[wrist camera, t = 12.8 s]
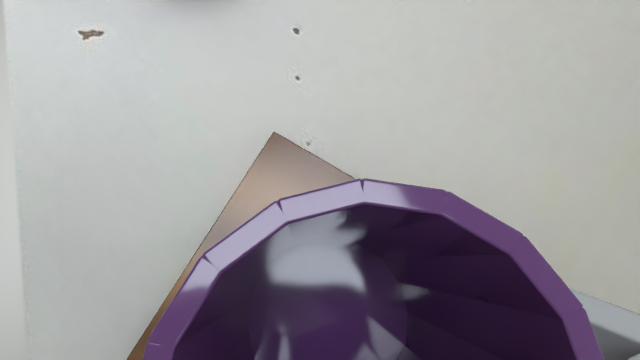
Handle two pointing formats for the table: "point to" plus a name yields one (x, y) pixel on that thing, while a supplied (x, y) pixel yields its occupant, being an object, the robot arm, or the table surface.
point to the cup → (373, 285)
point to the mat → (258, 201)
